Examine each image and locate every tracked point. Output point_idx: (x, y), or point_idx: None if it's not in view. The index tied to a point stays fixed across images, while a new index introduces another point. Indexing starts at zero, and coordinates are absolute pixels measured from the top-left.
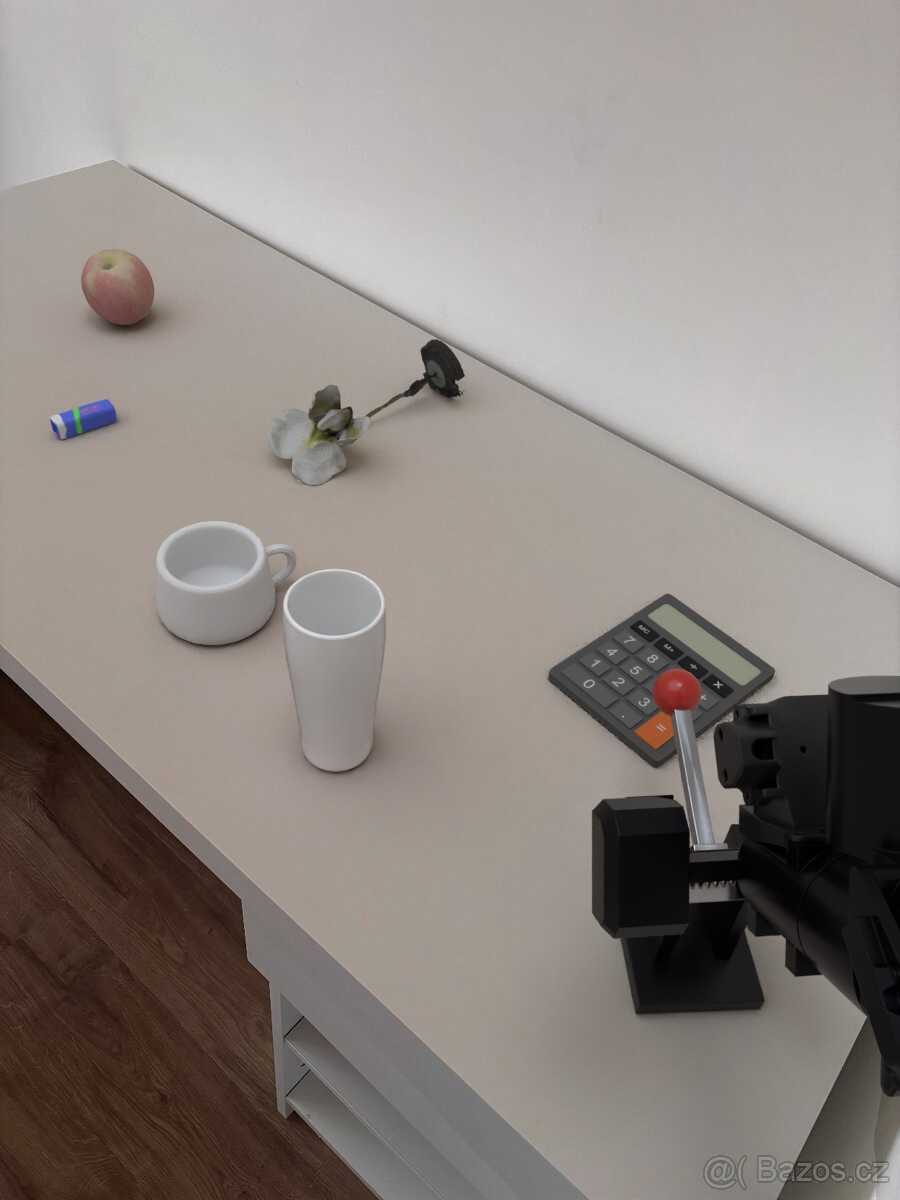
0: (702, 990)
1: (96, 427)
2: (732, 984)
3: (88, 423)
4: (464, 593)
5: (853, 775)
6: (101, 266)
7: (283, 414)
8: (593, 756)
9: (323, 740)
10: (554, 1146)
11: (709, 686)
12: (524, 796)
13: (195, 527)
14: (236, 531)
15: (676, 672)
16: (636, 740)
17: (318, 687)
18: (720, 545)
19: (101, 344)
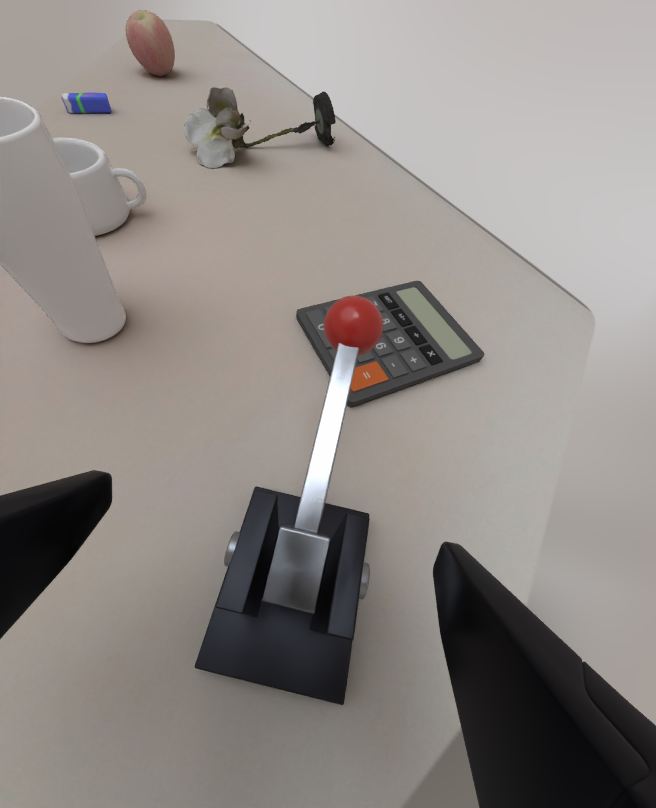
0: (276, 667)
1: (95, 111)
2: (314, 669)
3: (87, 105)
4: (268, 248)
5: None
6: (137, 20)
7: (198, 112)
8: (300, 384)
9: (40, 306)
10: None
11: (423, 353)
12: (222, 402)
13: (63, 140)
14: (93, 150)
15: (355, 298)
16: None
17: None
18: (473, 262)
19: (135, 80)
